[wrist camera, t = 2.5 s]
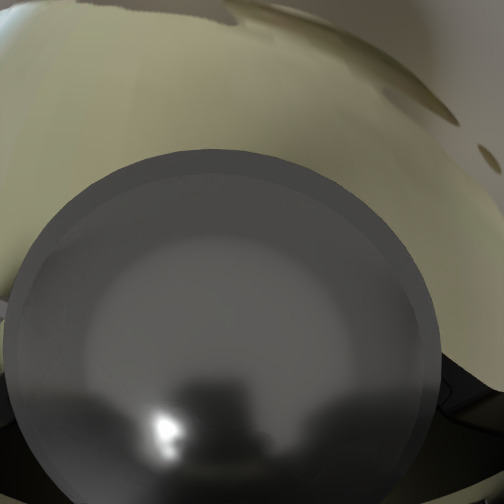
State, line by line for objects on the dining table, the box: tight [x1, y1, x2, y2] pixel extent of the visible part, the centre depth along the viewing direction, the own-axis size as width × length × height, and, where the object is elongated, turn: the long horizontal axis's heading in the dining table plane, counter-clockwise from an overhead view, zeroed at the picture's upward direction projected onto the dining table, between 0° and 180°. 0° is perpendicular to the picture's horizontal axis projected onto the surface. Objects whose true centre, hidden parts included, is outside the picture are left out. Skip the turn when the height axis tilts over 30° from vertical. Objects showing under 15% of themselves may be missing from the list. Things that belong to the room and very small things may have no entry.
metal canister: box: [3, 149, 442, 504], centre depth 9 cm, size 5×5×12 cm
